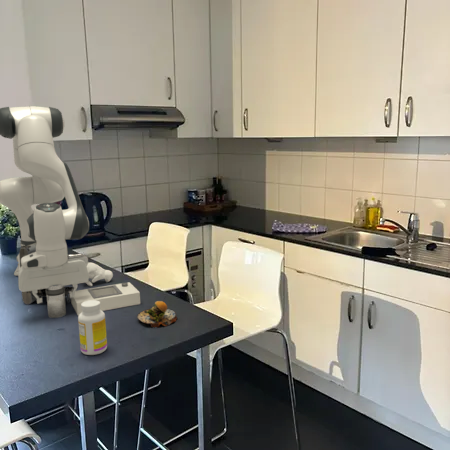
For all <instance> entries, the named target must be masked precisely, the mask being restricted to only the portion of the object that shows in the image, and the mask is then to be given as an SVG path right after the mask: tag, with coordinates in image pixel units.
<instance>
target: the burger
mask: <svg viewBox="0 0 450 450" xmlns="http://www.w3.org/2000/svg"><path fill="white" fill-rule="evenodd" d="M164 298H166V296H165V297H164ZM136 317H137V319H138V320H139V321H140V322H141V323H144V324H147V325H150V327H151V328H153V327H154V329H155V327H157V328H160V325H162V326H164V327H168V326H170V325H171V324H172V323H176V322H177V313H176V311H175V310H173V309H171V308H168V304H166V303H165V302H164V301H163V300H157V301H155V302H154V304H153V305H152V307H151V308H148V309H145V310H142V311H140V312H139V313H138V314H137V316H136Z"/></svg>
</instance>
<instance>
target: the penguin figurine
mask: <svg viewBox="0 0 450 450" xmlns="http://www.w3.org/2000/svg"><path fill="white" fill-rule="evenodd" d="M86 267H87V270H88V276H89V279H88V281H87V282H85V283H84V284H87V286H89V287H93V283H96V282H98V281H100V280H105V282H106V283H108V282H110V281H111V280H112V278H113V276H114V274H113V271H111V270H109V269H104V268H102V267H101V266H99V265H98V264H97V263H94V262H88V265H87V266H86Z"/></svg>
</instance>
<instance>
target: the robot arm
mask: <svg viewBox="0 0 450 450" xmlns="http://www.w3.org/2000/svg"><path fill="white" fill-rule="evenodd" d="M64 129H65V119H64V116H63V114H62V111H61V110H60V109H59V108H56V107H51V106H49V107H46V106H37V105H36V106H34V105H29V106H14V107H9V106H5V107H0V136H1V137H3V138H4V139H10V140H12V144H13V158H14V159H13V161H14V165H15V166H16V167H17V169H19V170H20V171H22V172H23V173H26V174H29V175H31V176H25V177H24V176H21V177H11V178H10V177H9V178H4V179H1V180H0V204H1V205H4V206H5V207H7V208H8V209H9V210H10V211H11V212H12V213H13V214H14V215H15V217H16V219H17V222H18V225H19V229H20V230H19V231H20V236H21V237H20V249H21V248H23V246H28V245H31V244H34V243H36V242H37V244H36V252H34V253H32V254H29V255H27V256H24V257H22V258H21V265H22V266H21V268H20V256H19V253H18V254H17V256H16V262H18V263H17V267H16V269H15V271H14V273H13V275H14V276H18V279H17V280H18V281H17V282H18V284H17V285H18V289H19V291H20V292H21V293H22V292H26V291H32V293H33V295H34V296H35V297H36V298H37V300H36V303H37V304H43V297H42V296H38V295H37V294H36V293H38V292H37V290H39V289H46V288H49V286H53V285H62V286H64V287H67V286H71V287H73V288H72V290H71V291H70V292H69V295H68V296H69V299H71V298H75V295H74V292H75V291H77V290H78V286H79V285H78V284H86V283H85V282H87V281H88V279H89V280H90V278H89V276H88V270H87V267H86V266H87V265H88V263H89V257H88V256H87V255H86V254H83V253H77V254H76V253H75V254H68V245H67V241H66V240H81V239H83V238H84V237H85V236H86V235H87V234H88V232H89V231H90V221H89V218H88V216H87V213H86V211H85V209H84V207H83V204H82V200H81V199H80V195H79V192H78V189H77V186H76V183H75V180H74V178H73V174H72V172H71V170H70V169H71V168H70V167H69V166H68V163H66V162H65V161H62V160H61V159H60V157H59V156H58V154H57V151H56V149H55V142H54V138H57V137H60V136H61V135H62V134H63V132H64ZM64 198H65V202H66V204H67V207H68V208H67V209H62V206H61V205H60V204H57V202H61V201H63V200H64ZM34 205H36V206H35V207H34V209H33V208H32V206H34ZM76 289H77V290H76Z"/></svg>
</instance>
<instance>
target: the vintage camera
mask: <svg viewBox="0 0 450 450" xmlns="http://www.w3.org/2000/svg"><path fill="white" fill-rule="evenodd" d="M36 244H37V242H36V243H34V244H31V245H28V246H23V248H21V247H20V249H19V251H18V254H19V256H20V268H21V266H22V265H21V258H22V257H24V256H27V255H29V254H32V253H34V252H36ZM64 288H65V293H64V294H65V298H66V299H67V303H70V298H69V292H70V291H71V290H72V288H73V286H64ZM76 291H78V288H77V289H76ZM37 292H38V293H36V294H37V295H38V296H42V298H43V297H46V298H47V295H46V289H39V290H37ZM21 299H22V302H23V303H24V304H25V305H31V304H32V303H34V302H37V298H36V297H35V296H34V295H33V293H32V291H26V292H22V291H21Z"/></svg>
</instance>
